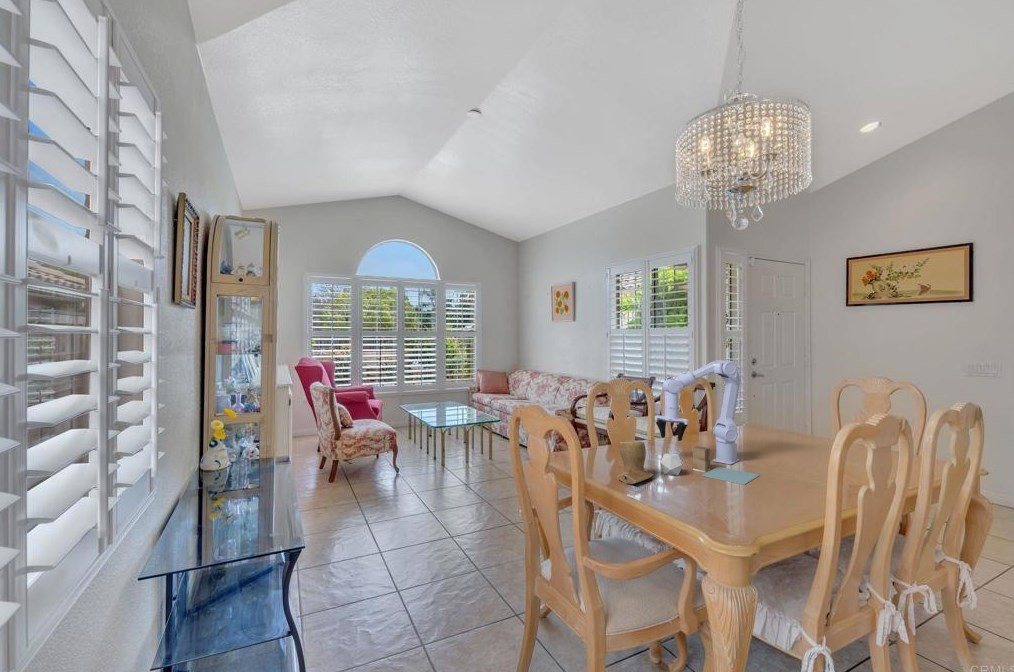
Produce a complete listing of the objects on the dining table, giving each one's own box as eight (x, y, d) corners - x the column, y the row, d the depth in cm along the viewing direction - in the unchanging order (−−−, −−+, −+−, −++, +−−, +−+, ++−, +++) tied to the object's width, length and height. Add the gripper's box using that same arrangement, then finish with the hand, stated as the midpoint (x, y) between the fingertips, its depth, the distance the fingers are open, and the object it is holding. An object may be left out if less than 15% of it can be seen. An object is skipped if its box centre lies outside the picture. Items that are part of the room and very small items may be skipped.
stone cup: (630, 472, 190) (630, 435, 190) (657, 478, 181) (657, 440, 181) (608, 480, 179) (608, 441, 179) (635, 487, 171) (635, 446, 171)
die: (684, 474, 189) (671, 452, 193) (689, 469, 181) (676, 446, 186) (666, 482, 188) (653, 460, 192) (671, 477, 180) (657, 454, 185)
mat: (718, 467, 195) (718, 466, 195) (759, 475, 184) (759, 474, 184) (701, 475, 184) (701, 474, 184) (744, 484, 172) (744, 484, 172)
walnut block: (698, 467, 196) (698, 445, 196) (710, 469, 192) (710, 447, 192) (692, 469, 192) (692, 447, 192) (705, 472, 189) (704, 450, 189)
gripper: (651, 406, 204) (651, 437, 204) (683, 410, 193) (683, 443, 193) (659, 404, 209) (659, 435, 209) (691, 408, 198) (691, 440, 198)
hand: (671, 439), depth 201 cm, fingers open, 7 cm apart
